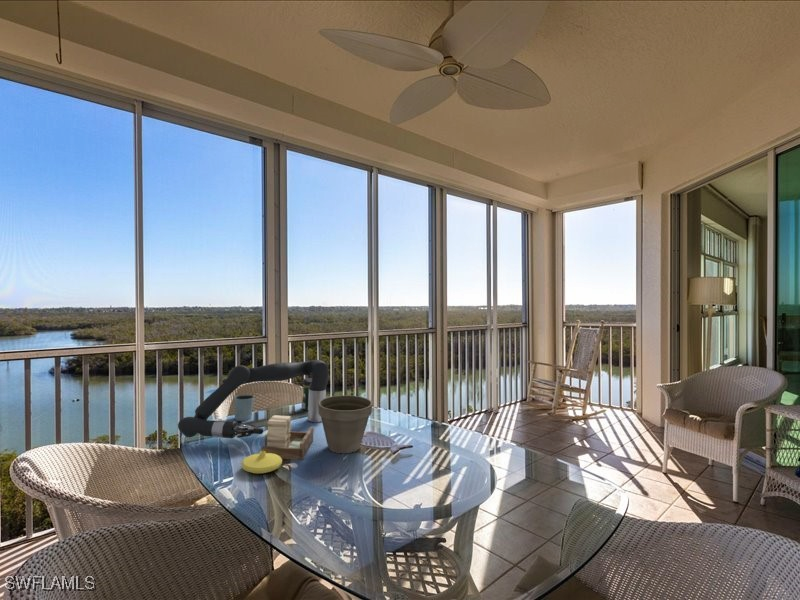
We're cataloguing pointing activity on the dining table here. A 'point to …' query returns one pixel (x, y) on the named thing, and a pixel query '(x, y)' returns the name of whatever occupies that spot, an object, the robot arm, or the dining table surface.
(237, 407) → the light blue cup
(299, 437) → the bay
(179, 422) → the robot arm
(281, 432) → the stacked wooden blocks
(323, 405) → the plant pot
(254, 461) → the yellow knobbed lid
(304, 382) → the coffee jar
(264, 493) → the dining table surface
